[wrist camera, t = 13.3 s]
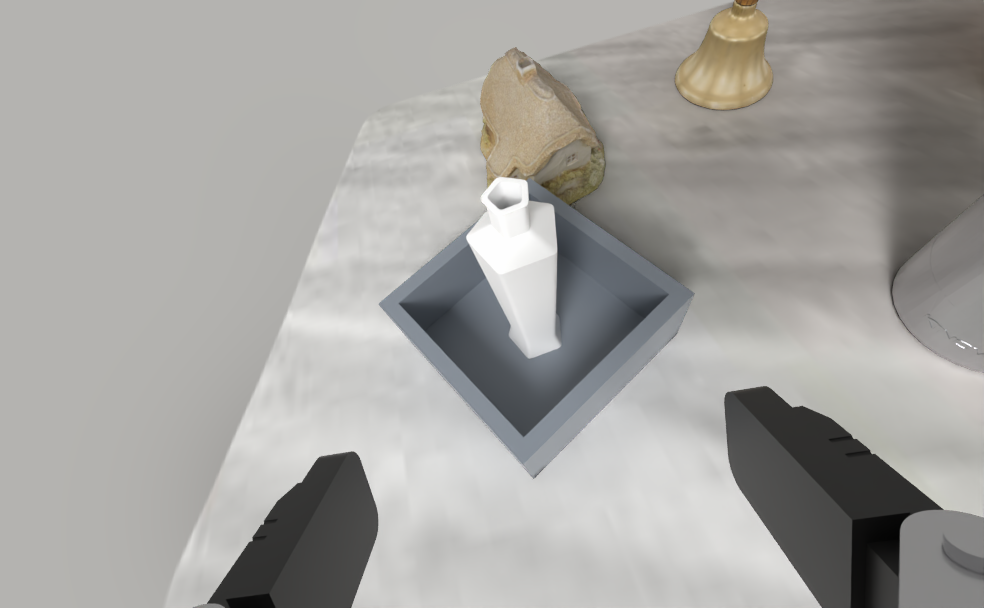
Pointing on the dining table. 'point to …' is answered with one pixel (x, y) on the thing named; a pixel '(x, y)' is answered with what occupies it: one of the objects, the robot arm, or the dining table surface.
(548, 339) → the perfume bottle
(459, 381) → the tote
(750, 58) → the hand bell
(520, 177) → the ceramic model
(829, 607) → the robot arm
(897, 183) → the dining table surface
